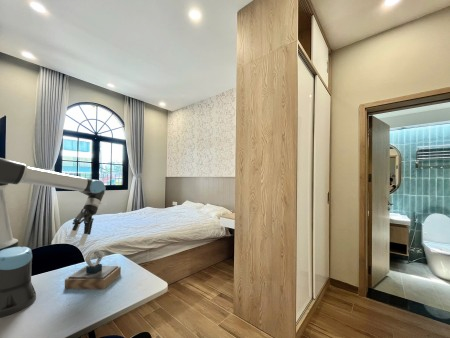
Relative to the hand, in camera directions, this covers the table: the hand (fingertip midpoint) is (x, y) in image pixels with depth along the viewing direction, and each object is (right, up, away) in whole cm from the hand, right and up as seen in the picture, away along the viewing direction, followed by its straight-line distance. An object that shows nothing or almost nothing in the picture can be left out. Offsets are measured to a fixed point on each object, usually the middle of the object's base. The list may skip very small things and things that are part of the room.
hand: (76, 241), depth 108 cm
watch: (+13, -14, -5) cm, 20 cm away
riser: (+13, -19, -5) cm, 24 cm away
